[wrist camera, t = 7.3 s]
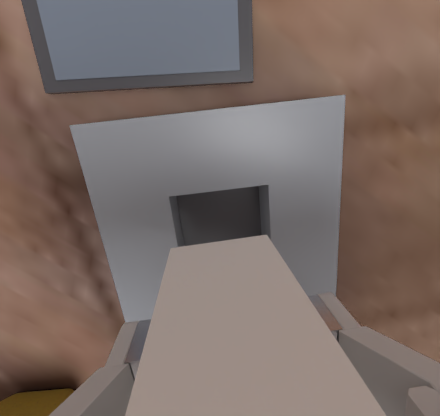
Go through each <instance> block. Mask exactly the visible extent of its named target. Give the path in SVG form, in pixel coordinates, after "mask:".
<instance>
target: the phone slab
mask: <svg viewBox="0 0 440 416" xmlns="http://www.w3.org/2000/svg"><path fill="white" fill-rule="evenodd" d="M21 1H22V5H23V8H24V12H25V16H26V20H27V24H28V28H29V31H30V35H31V39H32V43H33V47H34V51H35V54H36V58H37V62H38V66H39V70H40V73H41V77H42V81H43V85H44V89H45V93H47V94H61V93H79V92H96V91H114V90H132V89H149V88H167V87H185V86H202V85H220V84H237V83H252V82H253V34H252V0H21Z"/></svg>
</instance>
